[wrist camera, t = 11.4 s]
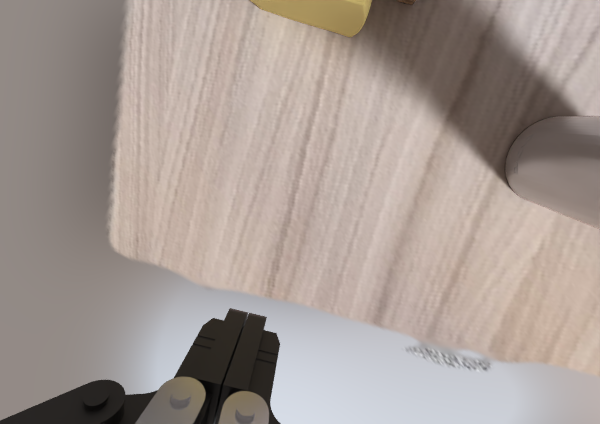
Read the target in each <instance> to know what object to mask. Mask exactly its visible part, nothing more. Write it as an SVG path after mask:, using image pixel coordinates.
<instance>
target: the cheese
mask: <svg viewBox="0 0 600 424" xmlns="http://www.w3.org/2000/svg"><path fill="white" fill-rule="evenodd" d="M250 1H252V2H253V3H254V4H256V5H257V6H258V7H259V8H260V9H262V10H265V11H268V12H271V13H274V14H277V15H280V16H282V17H285V18H288V19H291V20H294V21H298V22H301V23H304V24H308V25H311V26H314V27H318V28H321V29H325V30H329V31H332V32H335V33H338V34H341V35H344V36H347V37H352V36H354V35H355V34H357V33H358V32H359V31H360V30H361V28H362V27H363V25H364V23H365V21H366V19H367V16H368V13H369V10H370V6H371V2H372V0H250Z"/></svg>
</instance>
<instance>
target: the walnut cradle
mask: <svg viewBox="0 0 600 424" xmlns="http://www.w3.org/2000/svg"><path fill="white" fill-rule="evenodd" d="M397 1H398V2H402V3H406V4H410V5H413V3H414V2H415V1H416V0H397Z"/></svg>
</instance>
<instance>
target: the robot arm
mask: <svg viewBox="0 0 600 424" xmlns="http://www.w3.org/2000/svg"><path fill="white" fill-rule="evenodd" d="M505 171H506V178H507V180H508V183H509V185H510V187H511V188H512V190H513V191H514V192H515V193H516V194H517V195H519V196H520V197H521V198H524V199H526V200H528V201H530V202H533V203H535V204H538V205H540V206H543V207H545V208H548V209H550V210H552V211H555V212H557V213H560V214H562V215H565V216H567V217H570V218H573V219H575V220H578V221H580V222H583V223H585V224H588V225H590V226H593V227H595V228H598V229H600V116H557V117H551V118H546V119H544V120H541V121H538V122H536V123H535V124H533V125H531V126H530V127H528V128H527V129H526V130H525V131H523V132H522V133H521V134H520V135H519V136H518V138H517V139H516V140H515V141H514V143H513V145H512V146H511V148H510V150H509V153H508V156H507V159H506V166H505ZM247 315H248V317H247ZM266 318H267V317H264V316H260V315H256V314H252V313H249V314H248V313H247V312H243V311H239V310H235V309H231V308H230V309H229V311H228V313H227V316H226V318H225V320H224V321H223V320H219V319H215V318H213V319H211V320H210V321H209V322H207V323H206V324H204V325H203V326H202V329H201V330H200V332H199V334H198V336H197V337H196V339H195V341H194V343H193V345H192V346H191V348H190V350H189V352H188V354H187V355H186V357H185V359H184V361H183V362H182V365H181V366H180V368H179V370H178V372H177V373H176V375H175V377H174V378H173V379H171V380H169V381H167V382H166V383H164V384H163V385H162V386H161V387H160V388H159V390H157V391H155V392H151V393H146V394H134V395H125V391H124V388H123V387H122V386H121V385H120V384H119V383H117V382H115V381H111V380H98V381H93V382H90V383H88V384H85V385H83V386H81V387H78V388H76V389H74V390H71V391H69V392H66V393H64V394H62V395H59V396H57V397H55V398H52V399H50V400H48V401H45V402H43V403H41V404H38V405H36V406H33V407H31V408H29V409H26V410H24V411H22V412H20V413H17V414H15V415H12V416H10V417H8V418H6V419H3V420H1V421H0V424H280V423H279V422H278V421H277V419H276V418H275V417H274V415H273V413H272V410H271V407H270V398H271V393H272V387H273V381H274V375H275V369H276V363H277V358H278V352H279V346H280V343H279V340H278V337H277V334H276V333H273V332H269V331H265V330H264V326H265V322H266Z"/></svg>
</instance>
